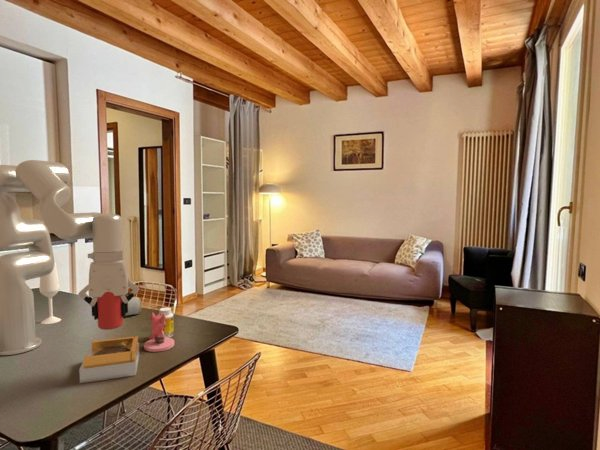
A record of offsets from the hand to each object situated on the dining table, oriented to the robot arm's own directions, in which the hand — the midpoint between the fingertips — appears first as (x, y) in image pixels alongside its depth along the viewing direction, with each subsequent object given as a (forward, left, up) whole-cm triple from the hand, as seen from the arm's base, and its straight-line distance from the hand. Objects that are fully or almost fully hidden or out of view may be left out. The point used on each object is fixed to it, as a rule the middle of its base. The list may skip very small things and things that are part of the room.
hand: (110, 316), depth 106 cm
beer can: (0, 0, -3) cm, 3 cm away
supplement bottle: (+15, +20, -16) cm, 30 cm away
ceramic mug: (0, +50, -16) cm, 53 cm away
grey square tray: (0, 0, -16) cm, 16 cm away
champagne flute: (-28, +50, -16) cm, 60 cm away
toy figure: (+13, +12, -16) cm, 24 cm away
